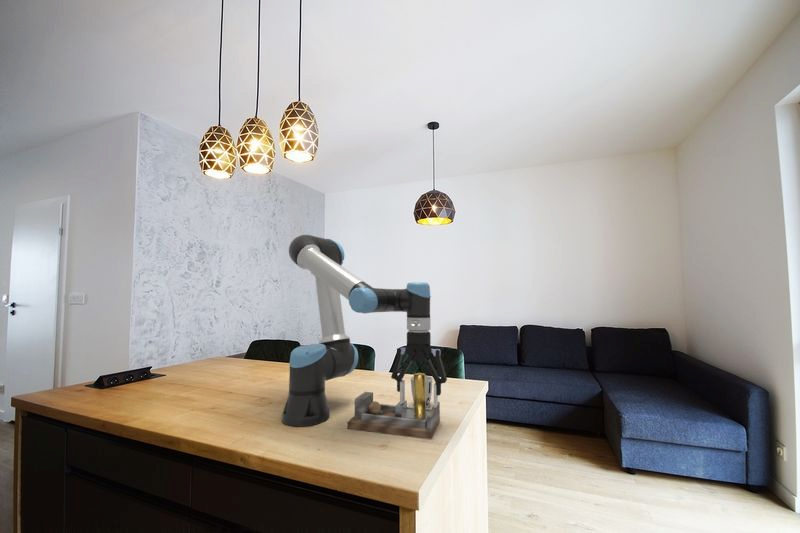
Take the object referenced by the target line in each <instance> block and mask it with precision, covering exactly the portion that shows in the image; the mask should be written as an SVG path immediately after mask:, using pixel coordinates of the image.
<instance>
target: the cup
mask: <svg viewBox="0 0 800 533" xmlns="http://www.w3.org/2000/svg"><path fill="white" fill-rule="evenodd" d="M425 385H426V409H428V408H429V406H430V403H431V400H432V393H433V392H432V391H433V377H432V376H428V375H425ZM410 388H411V395H412V401H413V402H414V375H413V376H411V377H410Z"/></svg>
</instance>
